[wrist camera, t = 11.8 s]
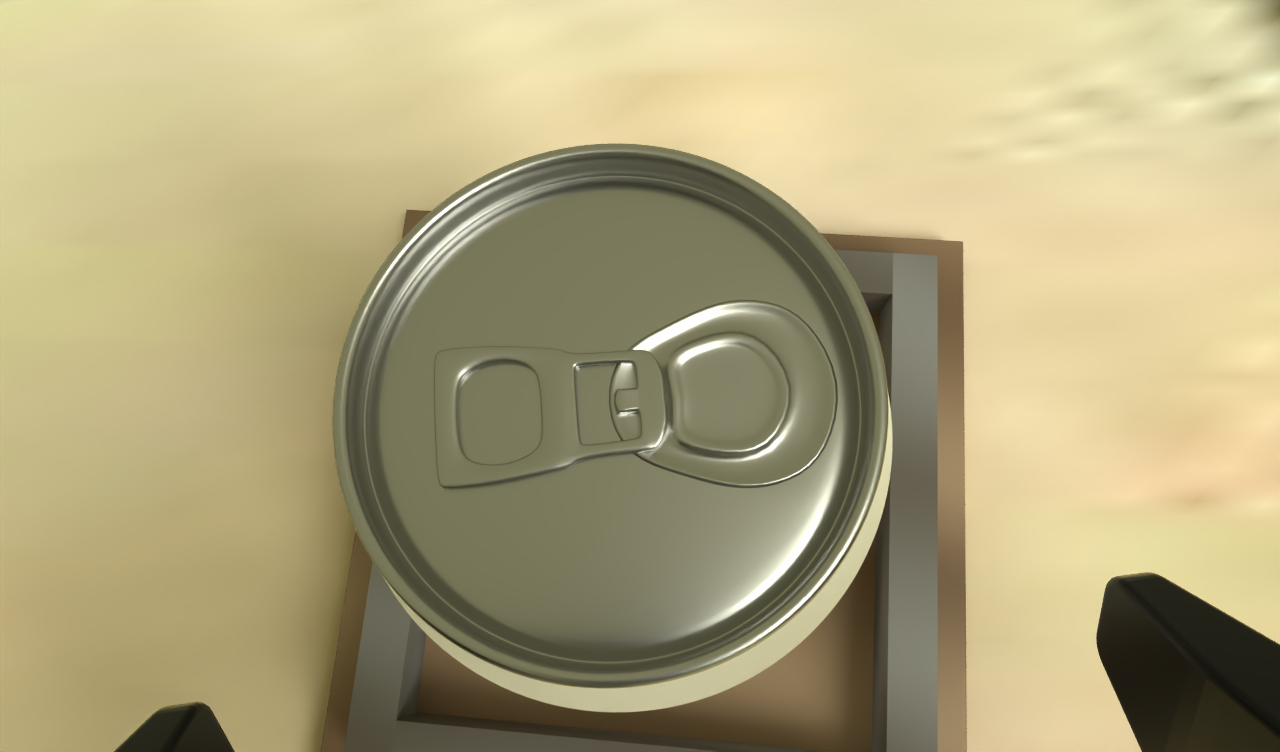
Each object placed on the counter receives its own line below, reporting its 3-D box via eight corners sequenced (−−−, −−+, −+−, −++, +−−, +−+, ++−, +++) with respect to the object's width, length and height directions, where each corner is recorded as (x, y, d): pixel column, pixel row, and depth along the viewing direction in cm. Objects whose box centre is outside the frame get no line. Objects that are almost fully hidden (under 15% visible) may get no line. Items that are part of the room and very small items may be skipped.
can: (807, 645, 20) (990, 707, 8) (517, 670, 20) (283, 769, 8) (771, 364, 21) (880, 76, 10) (504, 390, 21) (291, 137, 10)
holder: (959, 859, 19) (990, 889, 17) (323, 794, 20) (284, 816, 18) (955, 251, 22) (981, 217, 20) (413, 219, 23) (389, 184, 21)
